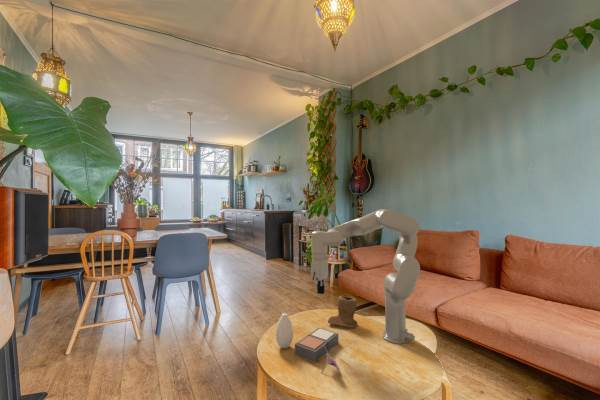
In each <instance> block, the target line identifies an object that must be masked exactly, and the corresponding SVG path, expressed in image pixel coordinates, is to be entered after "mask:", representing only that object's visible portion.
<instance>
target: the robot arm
mask: <svg viewBox="0 0 600 400" xmlns="http://www.w3.org/2000/svg"><path fill="white" fill-rule="evenodd" d="M420 227H421V226H420V223H419V221H417V219H415V218H413V217H410V216H408V215H404V214H401V213H400V212H396V211H394V210H392V209H387V208H386V209H385V208H382V209H377V210H374V211H372V212H370V213H368V214H365V215H363V216H360V217H358V218H356V219H352V220H350V221H348V222H345V223H342V224H339V225H337V226H334V227H332V228H330V229H328V230H327V231H325V230H315V231H314V230H313V231H312V232H311V235H310V236H311V239H310V240H311V261H310V262H311V265H310V280H311V281H313V283H314V284H316V291H317V292H316V293H317V294H318V295H319V294H320V295H325V293H326V292H325V291H326V290H325V284H326V280H327V278H328V276H329V263H328V246H331V247H338V246H340V245H342V244H343V241H344V240H345V239H348V238H349V237H354V236H356V237H357V236H364V235H366V234H369V233H372V232H374V231H376V230H379V229H381V228H386V229H390V230H391V231H394V232H397V234H398V237H399V241H398V246H397V249H396V251H395V253H394V256H393V260H392V267H393V269H395V270H396V271H397V272H390V273H388V274H386V275H385V277H384V278H383V291H384V306H385V307H384V308H385V309H384V310H385V311H384V315H385V316H384V318H385V319H384V321H385V324H384V325H385V328H384V329H385V330H383V332H382V333H381V336H382V338H383V339H384V340H385V341H387V342H389V343H392V344H399V345H400V344H401V345H403V344H406V343H408V342H409V341H410V340H412V341H415V339H416V337H415V335H414V333H412V332H408V328H407V327H406V325H407V323H406V320H407V319H406V300H407V299H409V298H410V297H411V295H412V294H413V292H414V290H415V288H416V287H415V286H416V284H417V280H418V278H419V276H420V272H421V266H420V265H421V264H420V263H419V261H418V260H417V258H416V257H415V255H416V252H417V248H418V244H419V243H418V235H417V234H418V233H419V231H420V229H421V228H420Z"/></svg>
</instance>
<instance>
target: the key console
mask: <svg viewBox="0 0 600 400" xmlns="http://www.w3.org/2000/svg"><path fill="white" fill-rule="evenodd" d="M318 329H323V330H326V331H329V332H332V333H335V335H333V336H332V337H331V338H330V339H328V340H327V341H325V340H322V339H319V338H316V337H313V336H311V334H313V333H314V332H315V331H317V330H318ZM308 336H310V337H313V338H316V339H319V340H322V341H324V343H323V344H322V345H321V346H320V347H318V348H317V349H316V350H313V349H310V348H307V347H305V346H302V345H299V343H300V342H301V341H303V340H304V339H305V338H307V337H308ZM338 344H339V333H337V332H335V331H334V332H333V331H332V330H329V329H328V330H327V329H325V328H322V327H318V328H316V329H314V330H313V331H312V332H310V333H309V334H308V335H306V336H305V337H303V338H301V339H300V340H299V341H297V342H296V343H295V344H294V355H296V356H298V357H300V358H303V359H305V360H308V361H310V362H313V363H315V364H316V363H318V361H320V359H322V358H323V357H324V356H325V355H327V352H326V351H328V353H329V352H330V351H332V349H334V348H335V347H336V346H337V345H338ZM324 346H325V347H324ZM326 349H327V350H326Z"/></svg>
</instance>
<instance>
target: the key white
mask: <svg viewBox="0 0 600 400" xmlns="http://www.w3.org/2000/svg"><path fill="white" fill-rule="evenodd" d="M317 329H318V328H317ZM323 329H324V328H322V329H318V330H317V331H315V330H314V331H315V332H314V333H313V334H311V336H313V337H316V338H319V339H322V340H325V341H327V340H328V339H330V338H331V337H332V336H333V335H335V333H336V332H335V333H332V332H333V331H332V332H329V331H330V330H328V331H326V330H327V329H325V330H323Z"/></svg>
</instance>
